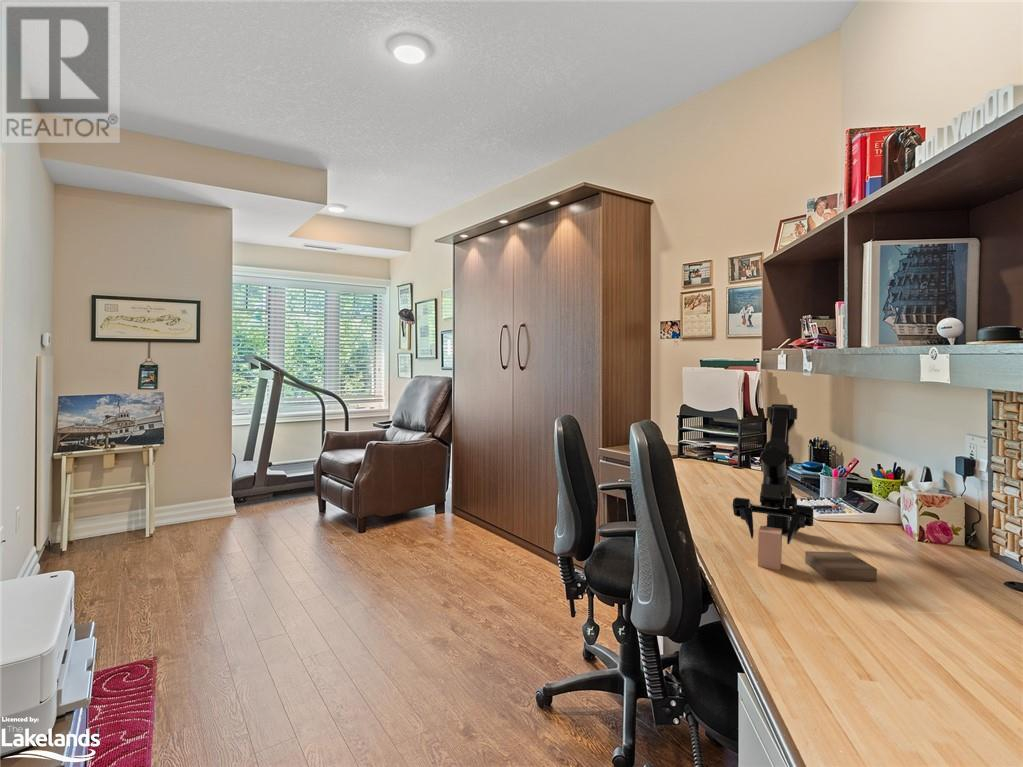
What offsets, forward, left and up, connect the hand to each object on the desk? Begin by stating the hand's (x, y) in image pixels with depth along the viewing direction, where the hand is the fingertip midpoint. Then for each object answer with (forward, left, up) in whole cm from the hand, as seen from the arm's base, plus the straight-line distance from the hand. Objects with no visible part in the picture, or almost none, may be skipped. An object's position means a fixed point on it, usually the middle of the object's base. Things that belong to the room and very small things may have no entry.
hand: (769, 540), depth 133 cm
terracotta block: (-1, -1, -7) cm, 7 cm away
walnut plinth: (-13, +9, -7) cm, 17 cm away
